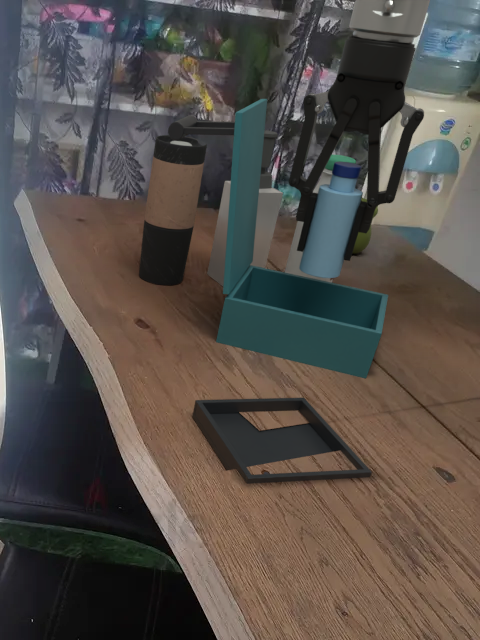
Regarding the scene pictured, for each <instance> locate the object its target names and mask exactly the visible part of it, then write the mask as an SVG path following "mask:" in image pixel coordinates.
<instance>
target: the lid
mask: <svg viewBox="0 0 480 640" xmlns="http://www.w3.org/2000/svg"><path fill="white" fill-rule="evenodd" d="M267 106H268V98H260V99H259V100H257V101H255V102H253V103H251V104H249V105H247V106H245V107H244V108H242V109H240V110H237V111H236V112H235V114H234V121H213V120H212V121H209V120H207V121H205V120H204V121H203V120H198V118H197V117H196V116H195V115H192V114H190V115H187V116H184V117H182V118H179V119H177V120H176V121H173V122H171V123H170V125H169V126H168V129H167V131H168V132H167V135H169V136H170V138H171V139H173V140H179V139H181V138H183V137H188V135H193V136H194V135H195V136H196V135H198V136H200V135H201V136H202V135H203V136H233V140H232V141H233V142H232V143H233V144H232V156H231V157H232V158H231V172H230V181H231V184H230V199H229V213H228V227H227V241H226V256H225V270H224V284H223V286H222V295H228V294H229V293H230V292H231V291H232V289H233V288H234V287H235V285H236V284H237V282H238V281H239V280H240V278H241V277H242V275H243V274H244V273H245V271H246V270H247V269H248V267H249V266H250V264H251V263H252V262H253V251H254V240H255V229H256V218H257V207H258V196H259V185H260V174H261V163H262V152H263V141H264V130H266V117H267V108H268V107H267Z"/></svg>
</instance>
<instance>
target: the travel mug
mask: <svg viewBox="0 0 480 640" xmlns="http://www.w3.org/2000/svg"><path fill="white" fill-rule="evenodd" d="M153 148H154V149H153V156H152V161H151V162H152V163H151V170H150V177H149V182H148V183H149V184H148V191H147V198H146V205H145V210H144V211H145V212H144V221H143V229H142V239H141V249H140V258H139V260H140V261H139V268H138V276H139V278H141V280H143V281H145V282H147V283H151V284H154V285H159V286H176V285H179V284H181V283H182V282H183V280H184V276H185V271H186V266H187V262H188V256H189V251H190V247H191V242H192V238H193V232H194V227H195V221H196V215H197V209H198V203H199V197H200V190H201V184H202V179H203V172H204V167H205V159H206V153H207V148H208V143H206V144H204V145H202V144H201V143H200V140H199V139H197V138H195V137H190V136H185V137H183V138H181V139H179V140H173V139H171V138H170V136H169V134H161V135H157V136H156V138H155V140H154V147H153Z"/></svg>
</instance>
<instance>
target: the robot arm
mask: <svg viewBox="0 0 480 640" xmlns="http://www.w3.org/2000/svg"><path fill="white" fill-rule="evenodd" d="M430 2H431V0H355V1H354V4H353V9H352V12H351V16H350V21H349V25H348V27H349V29H350V30H351V31H353V32H352V34H351V36H347V39H345V41H344V46H343V49H342V53H341V56H340V61H339V66H338V70H337V73H336V74H337V75H336V77H335V80H334V82H333V84H332V85H331V86H330V87H329V89H328V91H324V92H318V93H315V92H311V93H309V94H307V95H305V96H304V98H303V116H304V119H303V123H302V126H301V131H300V136H299V139H298V143H297V146H296V150H295V155H294V159H293V162H292V167H291V171H290V175H289V179H288V185H289V186H290V187H292V188H295V189H296V190H298V191H299V193H300V198H299V202H298V206H297V210H296V214H295V219H296V221H297V222H298V221H301V222H304V223H303V227H302V231H301V235H300V239H299V243H298V247H297V251H301V252H303V250H304V247H305V243H306V239H307V235H308V231H309V227H310V223H311V219H312V215H313V211H314V207H315V203H316V199H317V195H318V193H313V190H314V189H315V187H316V186H317V184H318V182H319V180H320V178H321V175H322V172H323V170H324V168H325V166H326V165H327V163H328V161H329V159H330V157H331V155H333V153H334V151H335V149H336V147H337V146H338V144H339V142H340V141H341V139H342V136H343V135H344V132H347V133H348V132H349V133H351V132H358V133H360V134H363V135H367V147H368V148H367V175H366V176H367V180H366V181H367V182H366V199H367V202H364V201H361V202H360V205H359V208H358V212H357V215H356V219H355V222H354V226H353V229H352V233H351V236H350V240H349V243H348V247H347V250H346V254H345V257H344V261H346V262H347V261H348V262H351V258H352V256H353V254H352V253H353V249H354V246H355V242H356V239H357V236H358V232H361V233H367V232H368V230H369V228H370V225H371V226H372V224H371V222H372V223H373V220H372V218H373V215H374V212H375V209H376V207H377V206H378V207H379V206H380V205H385V204H392V203H393V202H394V201H395V199H396V195H397V192H398V188H399V185H400V182H401V178H402V174H403V170H404V168H405V165H406V161H407V158H408V154H409V150H410V146H411V144H412V143H411V142H412V140H413V136H414V133H415V132H416V131H417V129H418V128H419V126H420V125H421V123H422V121H423V120H424V118H425V110H424V109H423V108H421V107H420V108H417V107H415V106H413V105H412V104H410V103H408V102H406V95H405V87H406V83H407V80H408V77H409V73H410V70H411V67H412V63H413V60H414V57H415V53H416V49H417V48H416V45H415V43H413V40H414V38H418V37H419V36H421V33H422V29H423V27H424V23H425V19H426V16H427V13H428V10H429V6H430ZM326 103H328V104H329V106H330V109H331V111H332V114H333V117H334V120H335V124H334V126H333V128H332V129H331V131H330V133H329V135H328V138H327V139H326V142H325V144H324V146H323V147H322V150H321V151H320V153H319V155H318V157H317V159H316V161H315V162H314V165H313V167H312V168H311V171H310V172H309V174H308V176H307V178H306V177H304V176H303V174H304V170H305V167H306V163H307V158H308V156H309V151H310V149H311V144H312V141H313V137H314V133H315V130H316V125H317V121H318V116H319V114H321V113H322V112H323V111H324V108H325V105H326ZM398 113H400V114H401V118H400V126H401V127H402V128H403V129H402V132H401V136H400V138H399V143H398V146H397V150H396V154H395V156H394V161H393V164H392V167H391V171H390V174H389V179H388V182H387V185H386V189H385V190H380V173H381V171H380V170H381V144H382V143H381V142H382V128H383V127H385V126H386V125H387V124H388V123H389V122H390V121H391V120H392V119H394V117H395V116H396V115H397V114H398ZM373 219H374V218H373Z"/></svg>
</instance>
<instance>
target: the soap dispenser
mask: <svg viewBox="0 0 480 640" xmlns="http://www.w3.org/2000/svg"><path fill="white" fill-rule="evenodd" d="M278 136H279V134H278V133H277V132H276V131H273V130H269V129H268V130H267V129H265V130H264V141H263V152H262V163H261V174H260V185H259V196H258V207H257V218H256V229H255V240H254V251H253V262H252V263H251V264H250V265H252V266H257V267H262V268H267V263H268V258H269V255H270V251H271V246H272V241H273V239H274V238H273V237H274V233H275V229H276V224H277V220H278V216H279V212H280V208H281V203H282V199H283V195H284V192H282V191H280V190H279V189H277V188H274V187H273V174H272V173H271V172H269V171H266V170H267V168H270V165H271V160H272V155H273V151H274V147H275V146H274V145H275V142H276V139H277V138H278ZM230 184H231V180H224V184H223V189H222V194H221V200H220V205H219V209H218V214H217V215H218V216H217V221H216V226H215V230H214V236H213V241H212V247H211V252H210V257H209V261H208V267H207V273H206V275H207V276H208V277H210V278H211V279H212V280H214V281H215V282H216V283H218V284H219V285H220V286H222V287H223V284H224V270H225V256H226V241H227V227H228V213H229V199H230Z"/></svg>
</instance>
